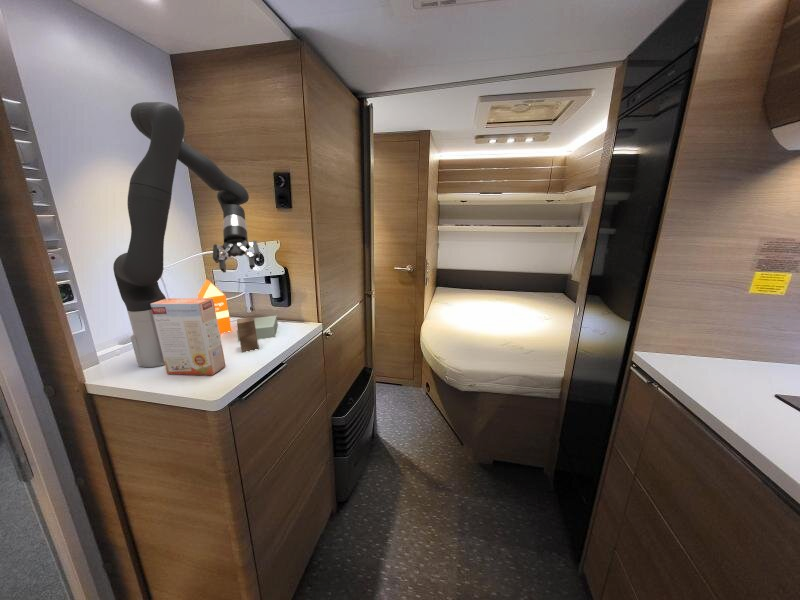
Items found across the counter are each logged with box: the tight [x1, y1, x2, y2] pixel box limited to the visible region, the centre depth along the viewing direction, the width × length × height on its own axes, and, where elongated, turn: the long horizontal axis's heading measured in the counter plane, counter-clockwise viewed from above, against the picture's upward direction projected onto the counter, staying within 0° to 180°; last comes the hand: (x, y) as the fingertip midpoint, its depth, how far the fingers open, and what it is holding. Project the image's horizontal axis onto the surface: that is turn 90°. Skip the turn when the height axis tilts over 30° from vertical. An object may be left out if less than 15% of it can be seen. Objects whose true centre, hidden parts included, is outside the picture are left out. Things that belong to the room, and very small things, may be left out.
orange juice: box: [197, 279, 232, 335], centre depth 115 cm, size 8×9×20 cm
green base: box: [236, 315, 279, 342], centre depth 115 cm, size 12×14×4 cm
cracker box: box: [151, 297, 227, 376], centre depth 84 cm, size 14×6×21 cm, turn 84°
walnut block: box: [236, 316, 260, 353], centre depth 100 cm, size 5×5×10 cm
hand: (237, 269), depth 102 cm, fingers open, 8 cm apart
